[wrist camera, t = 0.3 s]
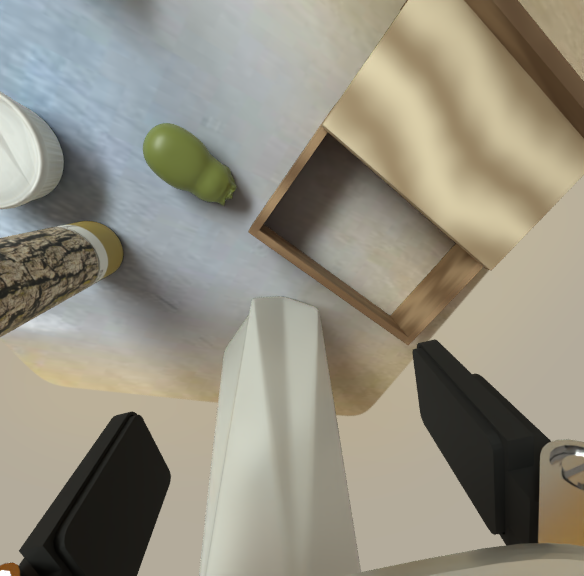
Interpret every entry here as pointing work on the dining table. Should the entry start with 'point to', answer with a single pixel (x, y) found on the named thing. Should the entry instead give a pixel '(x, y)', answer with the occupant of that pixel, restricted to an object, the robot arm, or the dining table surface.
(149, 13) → the dining table surface
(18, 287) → the paper tube
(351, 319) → the dining table surface
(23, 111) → the ramekin
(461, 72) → the lid
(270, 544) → the vase
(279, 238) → the wooden box
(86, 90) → the dining table surface
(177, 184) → the pear
